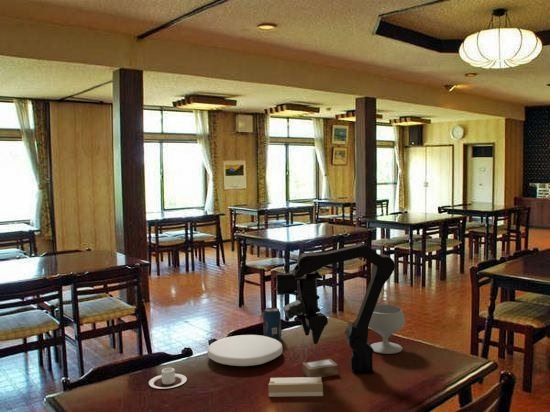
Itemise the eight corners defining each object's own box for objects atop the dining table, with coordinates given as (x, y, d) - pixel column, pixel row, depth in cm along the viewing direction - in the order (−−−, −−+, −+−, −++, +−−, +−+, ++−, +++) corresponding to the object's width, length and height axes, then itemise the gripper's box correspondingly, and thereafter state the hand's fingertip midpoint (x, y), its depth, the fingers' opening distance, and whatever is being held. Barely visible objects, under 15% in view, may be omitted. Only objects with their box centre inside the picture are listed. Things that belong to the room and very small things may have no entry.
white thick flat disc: (221, 331, 206) (288, 333, 201) (221, 347, 206) (288, 351, 201) (196, 347, 179) (273, 351, 173) (196, 367, 179) (273, 371, 173)
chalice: (379, 340, 204) (379, 301, 203) (412, 348, 194) (412, 307, 193) (358, 349, 194) (358, 309, 193) (392, 358, 184) (391, 316, 183)
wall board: (321, 380, 167) (320, 369, 167) (323, 395, 156) (322, 384, 156) (270, 381, 168) (270, 370, 167) (268, 396, 157) (268, 384, 156)
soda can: (262, 337, 211) (261, 308, 210) (279, 335, 213) (278, 306, 212) (266, 343, 204) (265, 312, 203) (283, 341, 206) (282, 310, 205)
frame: (330, 369, 177) (330, 358, 177) (338, 375, 172) (337, 364, 171) (302, 373, 174) (302, 362, 174) (309, 380, 169) (308, 369, 168)
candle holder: (149, 393, 163) (148, 379, 162) (148, 378, 174) (147, 365, 174) (188, 387, 166) (188, 374, 165) (184, 373, 177) (184, 361, 177)
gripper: (277, 289, 179) (280, 334, 180) (292, 302, 161) (295, 352, 162) (308, 285, 181) (311, 330, 182) (327, 297, 163) (329, 347, 164)
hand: (311, 339), depth 173 cm, fingers open, 9 cm apart
